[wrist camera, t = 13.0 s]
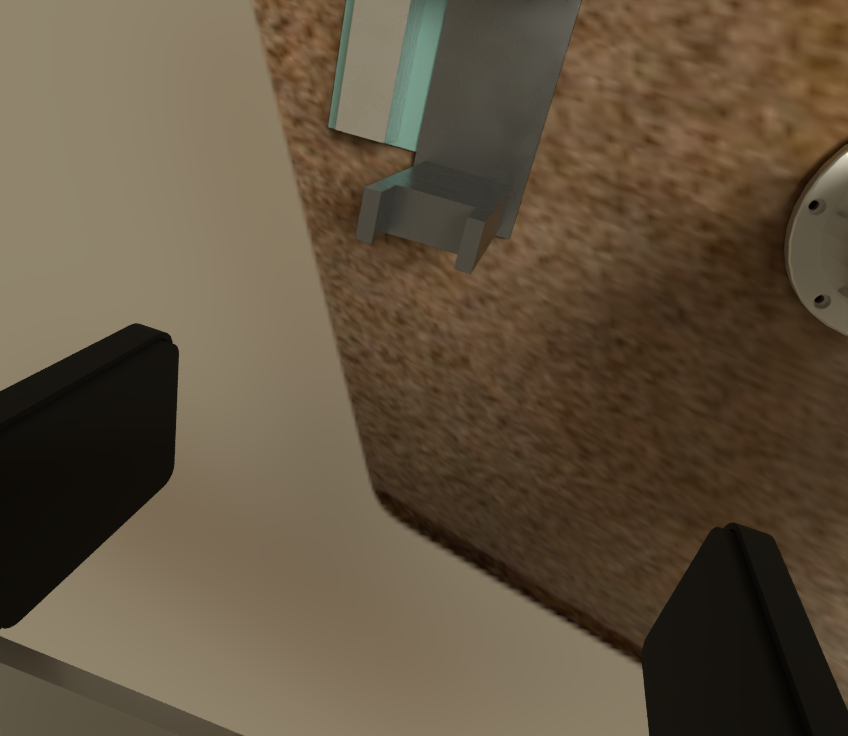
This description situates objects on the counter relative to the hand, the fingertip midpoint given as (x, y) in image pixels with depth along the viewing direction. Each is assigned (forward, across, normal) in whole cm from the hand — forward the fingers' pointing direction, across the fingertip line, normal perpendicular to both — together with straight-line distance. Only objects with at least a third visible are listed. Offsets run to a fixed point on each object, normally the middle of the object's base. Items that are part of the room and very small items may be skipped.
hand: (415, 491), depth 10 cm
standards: (+30, +4, -6) cm, 31 cm away
